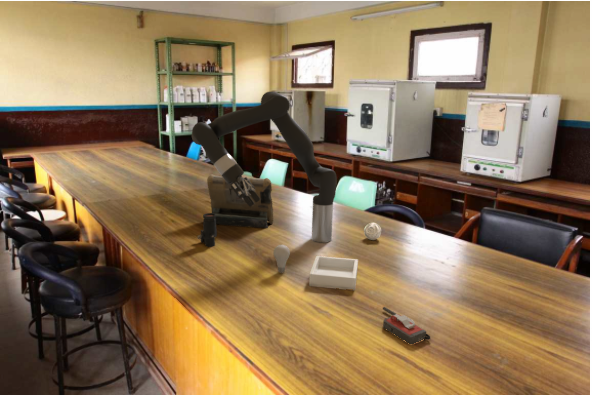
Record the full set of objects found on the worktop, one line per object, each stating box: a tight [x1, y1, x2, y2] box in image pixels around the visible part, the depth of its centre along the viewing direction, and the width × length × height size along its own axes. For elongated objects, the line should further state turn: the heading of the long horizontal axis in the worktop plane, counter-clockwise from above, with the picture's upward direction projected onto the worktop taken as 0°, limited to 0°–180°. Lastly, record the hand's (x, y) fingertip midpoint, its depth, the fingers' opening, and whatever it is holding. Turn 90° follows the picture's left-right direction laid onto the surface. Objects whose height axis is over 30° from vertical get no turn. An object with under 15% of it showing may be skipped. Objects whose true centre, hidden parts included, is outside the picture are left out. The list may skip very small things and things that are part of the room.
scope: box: [197, 212, 218, 248], centre depth 197 cm, size 8×14×10 cm
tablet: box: [206, 173, 274, 229], centre depth 227 cm, size 33×14×25 cm, turn 84°
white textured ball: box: [363, 222, 382, 241], centre depth 210 cm, size 8×8×8 cm
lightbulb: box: [273, 244, 291, 274], centre depth 169 cm, size 6×6×11 cm
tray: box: [308, 255, 359, 291], centre depth 166 cm, size 18×16×4 cm
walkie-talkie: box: [382, 306, 431, 345], centre depth 133 cm, size 9×4×20 cm
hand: (255, 203), depth 170 cm, fingers open, 8 cm apart
